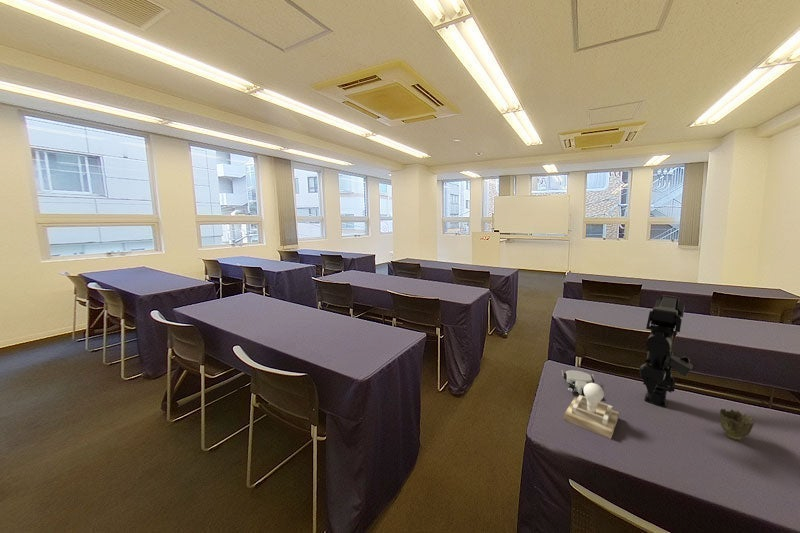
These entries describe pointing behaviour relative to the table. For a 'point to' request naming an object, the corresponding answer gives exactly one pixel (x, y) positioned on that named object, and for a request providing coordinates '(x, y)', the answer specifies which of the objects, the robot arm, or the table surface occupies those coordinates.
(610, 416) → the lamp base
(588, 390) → the lightbulb
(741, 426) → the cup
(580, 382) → the robot toy
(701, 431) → the table surface
